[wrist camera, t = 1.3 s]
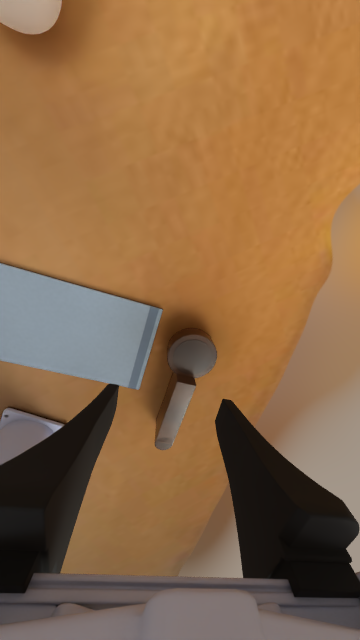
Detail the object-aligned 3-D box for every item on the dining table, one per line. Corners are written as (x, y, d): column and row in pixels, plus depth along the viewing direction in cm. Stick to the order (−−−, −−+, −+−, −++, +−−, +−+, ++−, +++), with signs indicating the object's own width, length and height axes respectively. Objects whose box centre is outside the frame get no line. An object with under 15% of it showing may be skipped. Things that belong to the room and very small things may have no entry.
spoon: (180, 429, 27) (182, 453, 23) (142, 422, 26) (139, 446, 23) (219, 334, 22) (228, 347, 19) (175, 322, 21) (176, 333, 18)
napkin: (139, 388, 24) (138, 389, 24) (-17, 355, 21) (-20, 356, 21) (162, 309, 21) (162, 309, 21) (-17, 257, 18) (-20, 257, 18)
